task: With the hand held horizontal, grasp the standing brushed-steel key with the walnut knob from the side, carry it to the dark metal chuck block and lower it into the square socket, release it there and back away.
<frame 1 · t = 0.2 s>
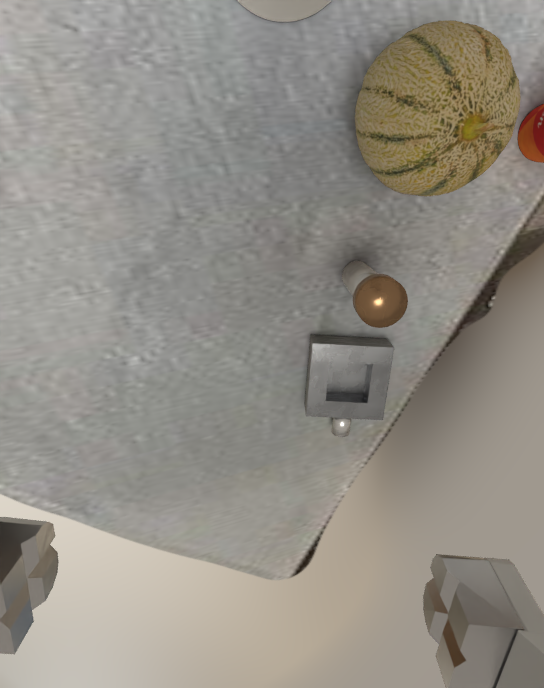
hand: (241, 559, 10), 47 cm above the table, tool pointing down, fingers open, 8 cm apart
coffee cup: (542, 133, 50), on the table
cantaloupe: (409, 125, 50), on the table
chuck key: (356, 275, 55), on the table
chuck block: (344, 372, 59), on the table
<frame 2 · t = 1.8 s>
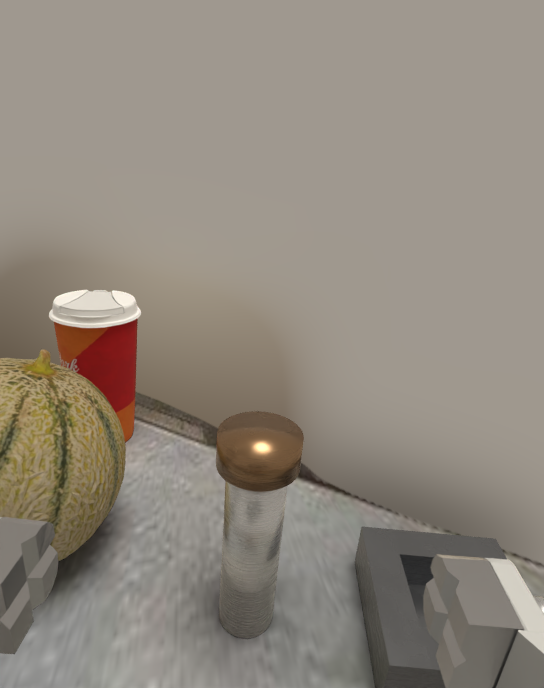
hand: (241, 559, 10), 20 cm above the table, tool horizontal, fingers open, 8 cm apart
coffee cup: (104, 435, 48), on the table
cantaloupe: (27, 544, 34), on the table
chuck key: (245, 612, 30), on the table
chuck block: (439, 629, 30), on the table
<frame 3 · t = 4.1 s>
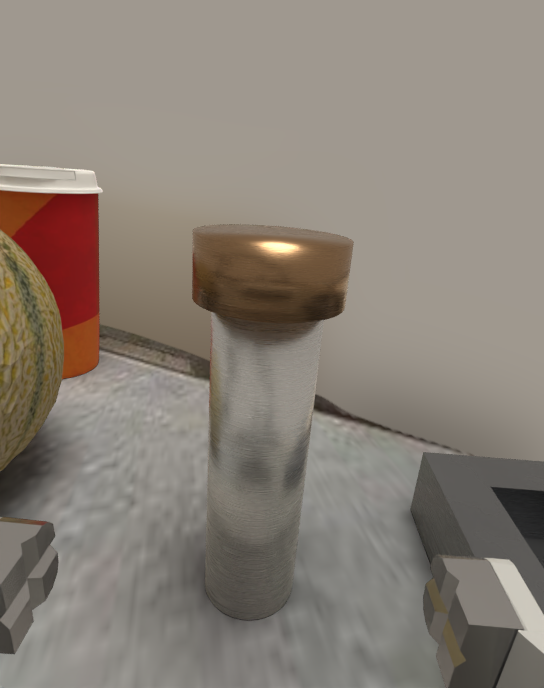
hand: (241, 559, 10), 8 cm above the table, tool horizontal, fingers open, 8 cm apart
coffee cup: (60, 366, 36), on the table
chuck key: (249, 579, 18), on the table
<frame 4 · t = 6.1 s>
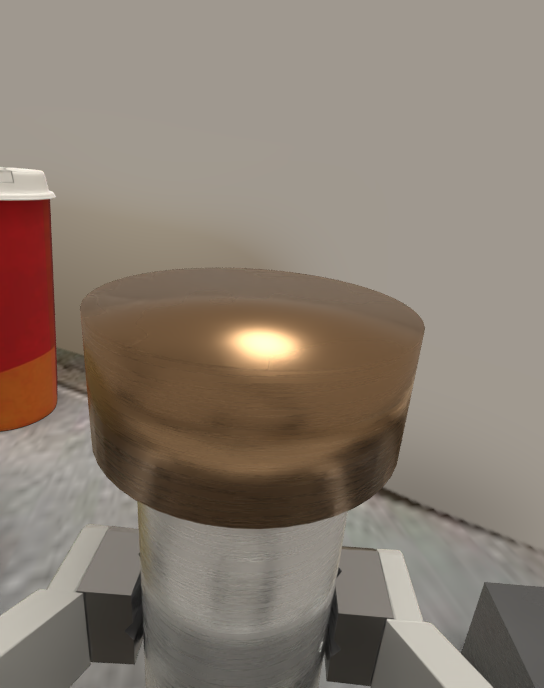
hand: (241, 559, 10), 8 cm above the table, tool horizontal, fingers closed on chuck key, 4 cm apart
coffee cup: (8, 411, 30), on the table
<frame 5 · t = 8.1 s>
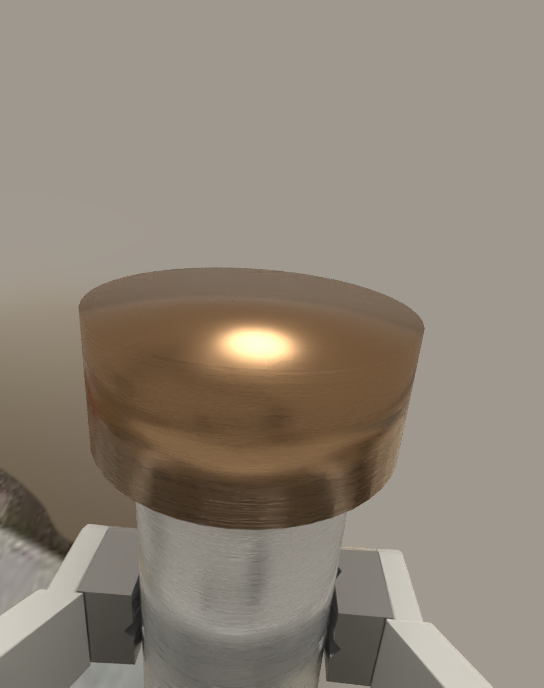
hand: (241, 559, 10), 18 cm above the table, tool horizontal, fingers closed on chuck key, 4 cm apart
when the fingers open (10 cm above the table, at t = 10.4 s): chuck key drops 1 cm, resting on chuck block.
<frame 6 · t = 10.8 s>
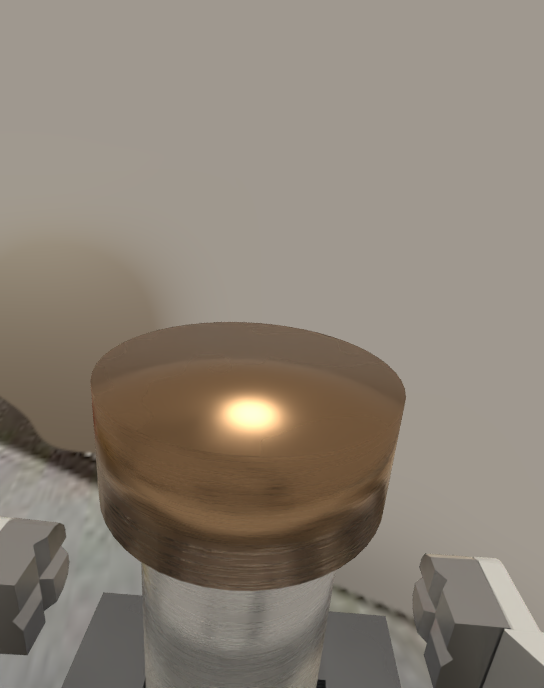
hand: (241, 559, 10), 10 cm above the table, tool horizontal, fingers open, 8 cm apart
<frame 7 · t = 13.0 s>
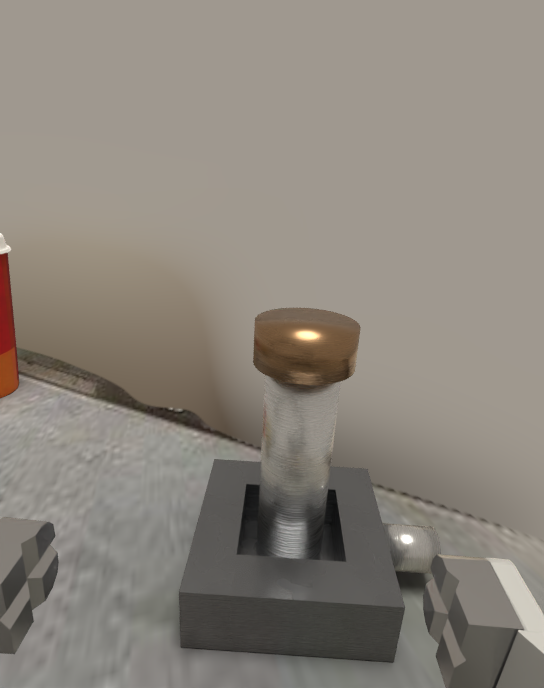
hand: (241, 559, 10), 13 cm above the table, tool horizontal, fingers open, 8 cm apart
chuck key: (287, 556, 25), point 1 cm above the table, touching chuck block
chuck block: (287, 567, 26), on the table
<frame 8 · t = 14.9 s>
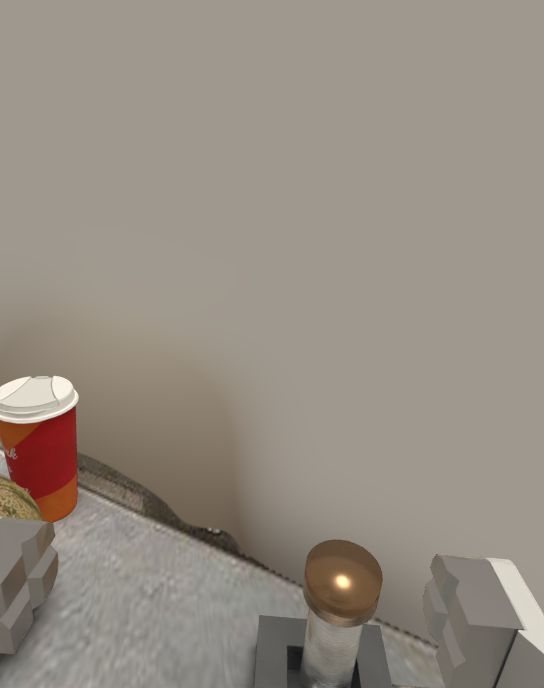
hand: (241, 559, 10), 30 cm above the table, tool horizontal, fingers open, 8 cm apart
coffee cup: (49, 507, 51), on the table
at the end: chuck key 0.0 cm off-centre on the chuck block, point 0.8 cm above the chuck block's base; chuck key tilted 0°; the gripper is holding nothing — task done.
